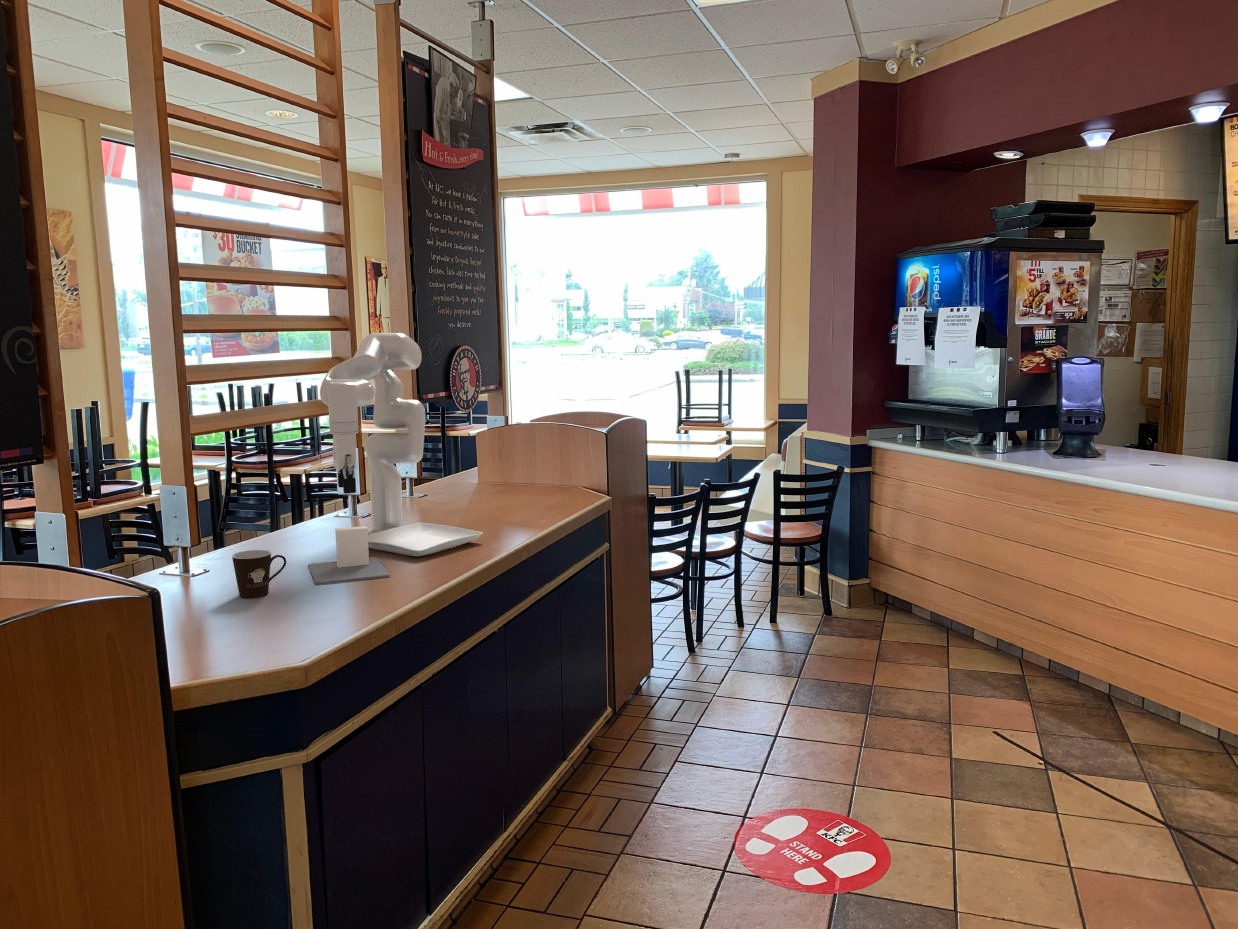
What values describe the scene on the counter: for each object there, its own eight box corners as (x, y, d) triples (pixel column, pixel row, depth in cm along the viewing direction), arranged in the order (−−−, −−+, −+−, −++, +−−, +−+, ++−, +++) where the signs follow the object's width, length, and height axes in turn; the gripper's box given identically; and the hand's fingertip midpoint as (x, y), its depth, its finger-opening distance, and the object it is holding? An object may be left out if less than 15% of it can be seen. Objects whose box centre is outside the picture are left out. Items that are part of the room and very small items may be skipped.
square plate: (420, 532, 279) (419, 520, 278) (485, 543, 264) (484, 531, 264) (352, 549, 257) (351, 536, 256) (418, 562, 242) (418, 549, 241)
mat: (308, 566, 236) (308, 563, 236) (376, 559, 244) (376, 557, 244) (316, 584, 218) (316, 582, 218) (389, 576, 226) (389, 574, 226)
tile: (336, 565, 235) (335, 528, 234) (367, 562, 238) (366, 526, 237) (338, 567, 233) (336, 530, 231) (369, 564, 236) (367, 528, 235)
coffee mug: (231, 601, 205) (229, 559, 203) (237, 591, 213) (234, 551, 212) (284, 597, 208) (282, 556, 206) (288, 587, 216) (286, 548, 215)
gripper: (325, 425, 243) (328, 485, 246) (334, 432, 227) (337, 496, 230) (353, 423, 246) (356, 483, 249) (363, 430, 231) (366, 494, 233)
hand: (347, 489), depth 240 cm, fingers open, 9 cm apart
